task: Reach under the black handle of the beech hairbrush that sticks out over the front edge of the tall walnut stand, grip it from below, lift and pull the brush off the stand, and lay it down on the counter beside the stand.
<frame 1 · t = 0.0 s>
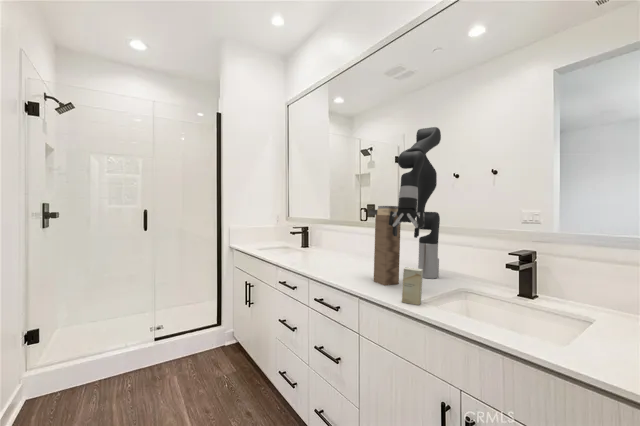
hand: (405, 236, 119), 22 cm above the worktop, tool pointing down, fingers open, 8 cm apart
walnut stand: (386, 282, 133), on the worktop
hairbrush: (387, 215, 133), point 31 cm above the worktop, touching walnut stand
skincare box: (411, 302, 105), on the worktop
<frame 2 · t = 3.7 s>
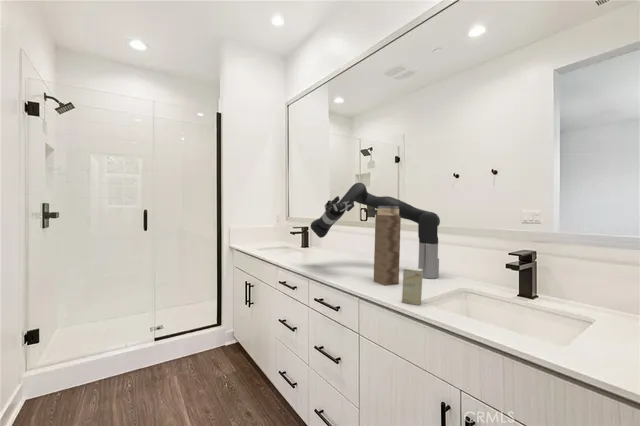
hand: (346, 198, 139), 39 cm above the worktop, tool pointing upward, fingers open, 8 cm apart
nothing on the worktop moved.
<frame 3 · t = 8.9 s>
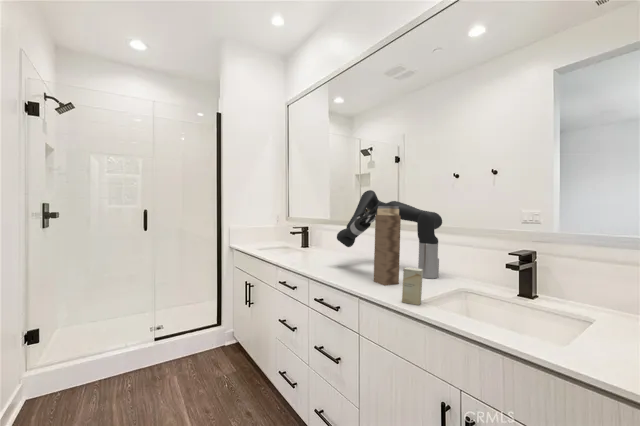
hand: (378, 209, 140), 34 cm above the worktop, tool pointing upward, fingers closed on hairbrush, 2 cm apart
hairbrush: (387, 215, 133), point 31 cm above the worktop, touching gripper, walnut stand
everything else where it was.
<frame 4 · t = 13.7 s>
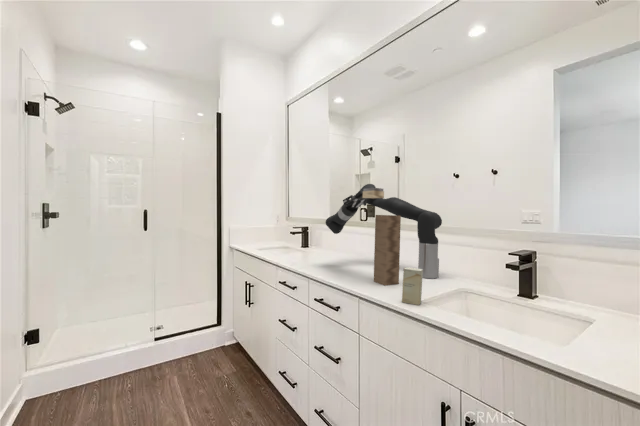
hand: (363, 192, 139), 41 cm above the worktop, tool pointing upward, fingers closed on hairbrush, 2 cm apart
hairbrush: (373, 197, 132), point 39 cm above the worktop, touching gripper
everything else where it was.
when the fingers open (10 cm above the worktop, at t = 18.7 s): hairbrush drops 4 cm, on the worktop.
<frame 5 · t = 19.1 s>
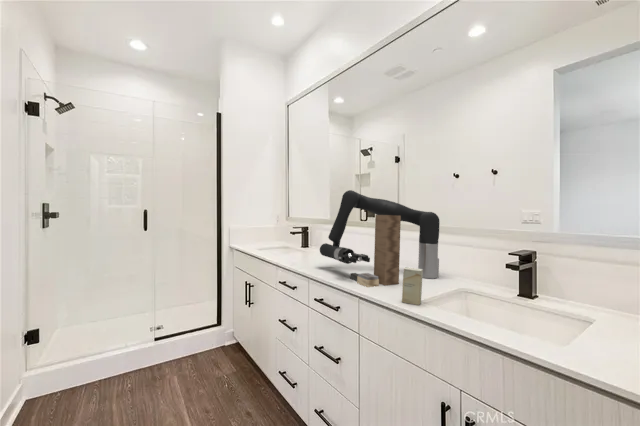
hand: (362, 260, 133), 10 cm above the worktop, tool horizontal, fingers open, 6 cm apart
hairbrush: (367, 284, 129), on the worktop
everything else where it was.
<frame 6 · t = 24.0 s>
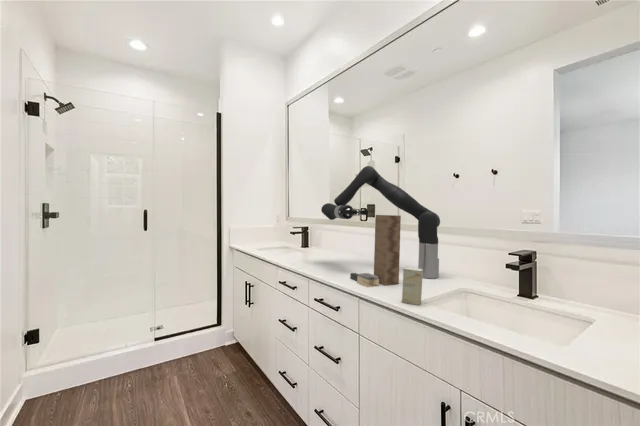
hand: (360, 212, 145), 32 cm above the worktop, tool horizontal, fingers open, 8 cm apart
nothing on the worktop moved.
at the end: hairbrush inside the target area (1.4 cm from its centre), on the worktop; the gripper is holding nothing; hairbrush touching worktop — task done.
